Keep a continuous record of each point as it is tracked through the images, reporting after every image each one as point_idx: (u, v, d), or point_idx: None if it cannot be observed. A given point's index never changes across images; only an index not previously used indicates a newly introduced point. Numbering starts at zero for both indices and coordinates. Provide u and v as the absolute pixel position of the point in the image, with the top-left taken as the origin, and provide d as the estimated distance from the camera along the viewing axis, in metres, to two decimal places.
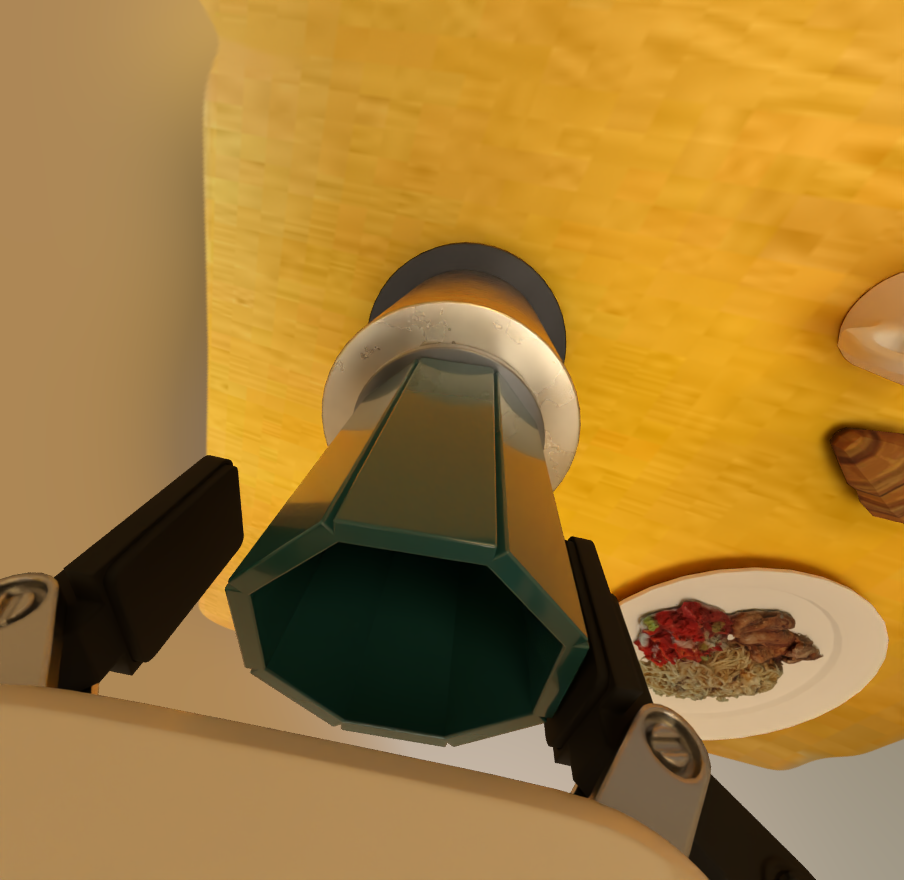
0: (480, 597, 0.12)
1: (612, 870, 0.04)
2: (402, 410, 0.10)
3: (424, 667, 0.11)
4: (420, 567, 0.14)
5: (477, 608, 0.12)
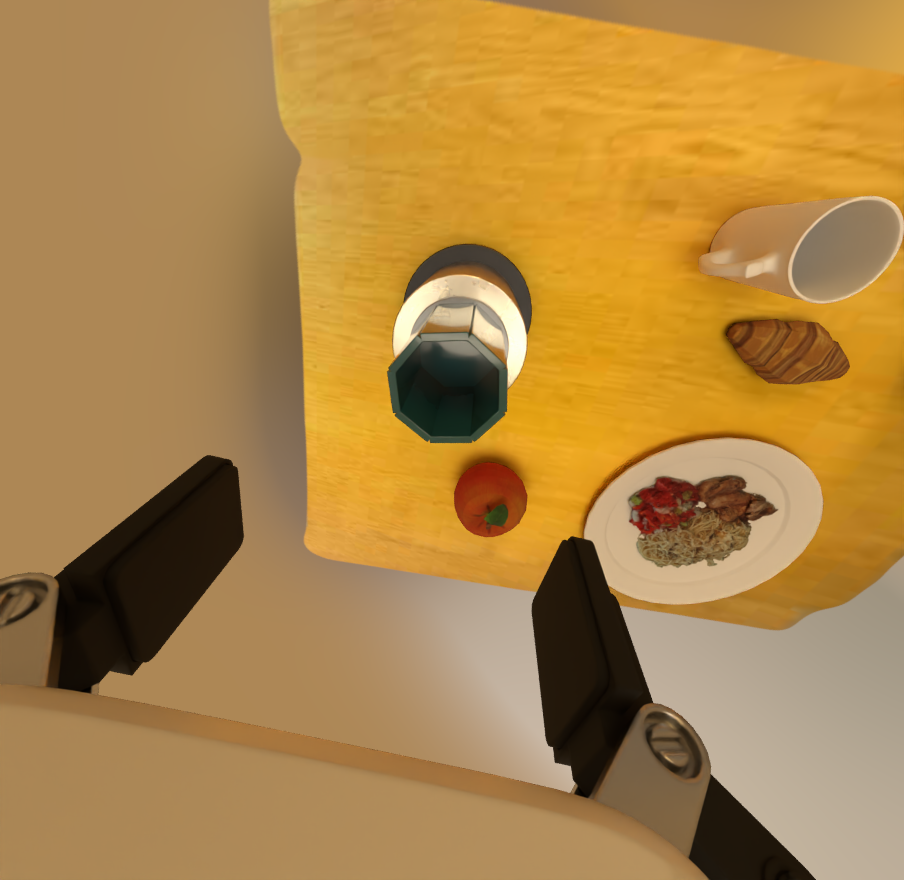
0: (482, 402, 0.26)
1: (612, 869, 0.04)
2: (434, 316, 0.24)
3: (460, 424, 0.25)
4: (454, 403, 0.28)
5: (480, 405, 0.26)
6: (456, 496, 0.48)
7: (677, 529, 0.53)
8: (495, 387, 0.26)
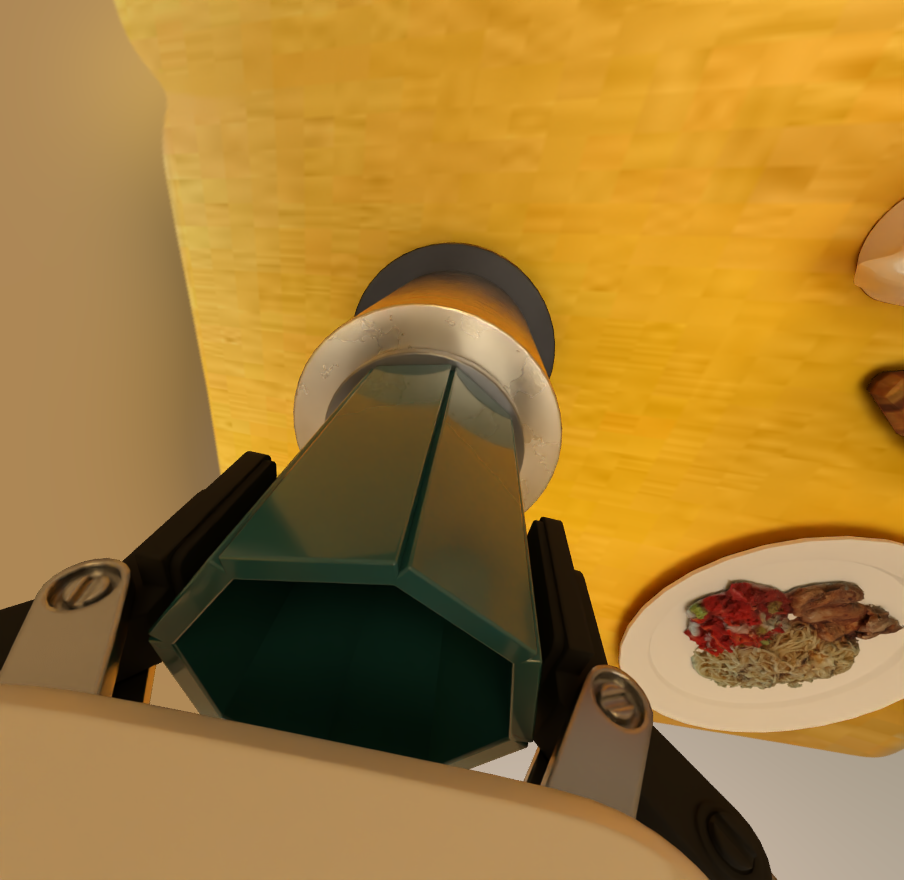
0: None
1: (612, 870, 0.04)
2: (336, 424, 0.09)
3: (407, 693, 0.10)
4: None
5: None
6: None
7: (754, 647, 0.37)
8: None
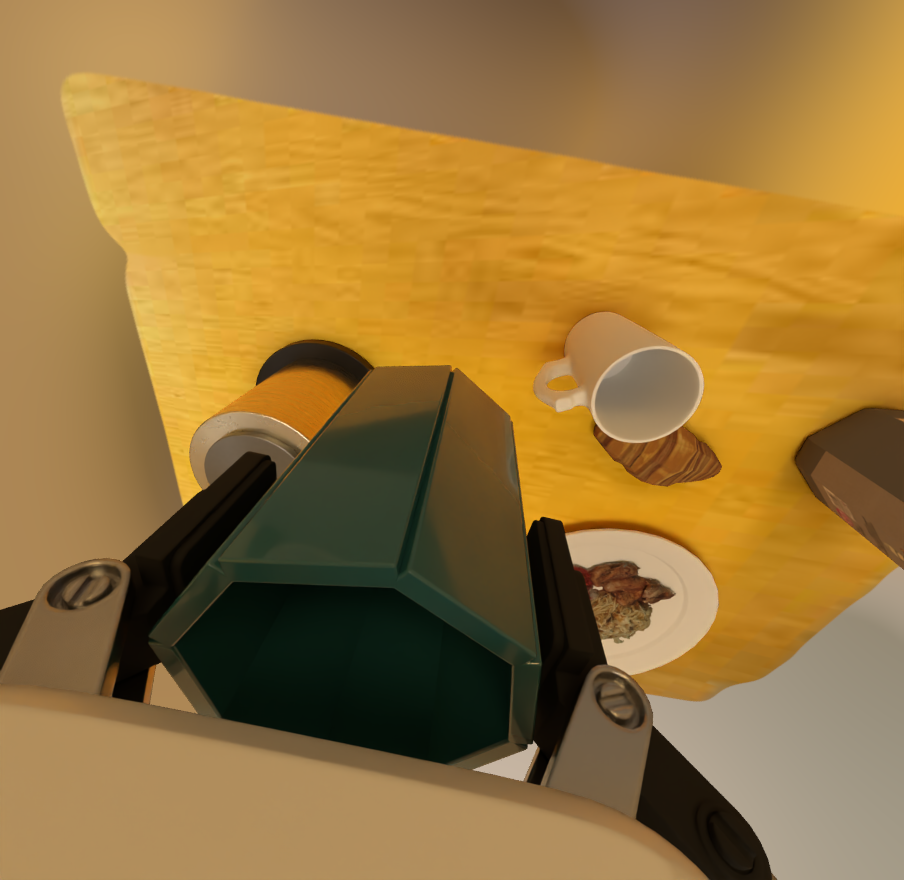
0: None
1: (612, 870, 0.04)
2: (336, 426, 0.09)
3: (407, 695, 0.10)
4: None
5: None
6: None
7: None
8: None
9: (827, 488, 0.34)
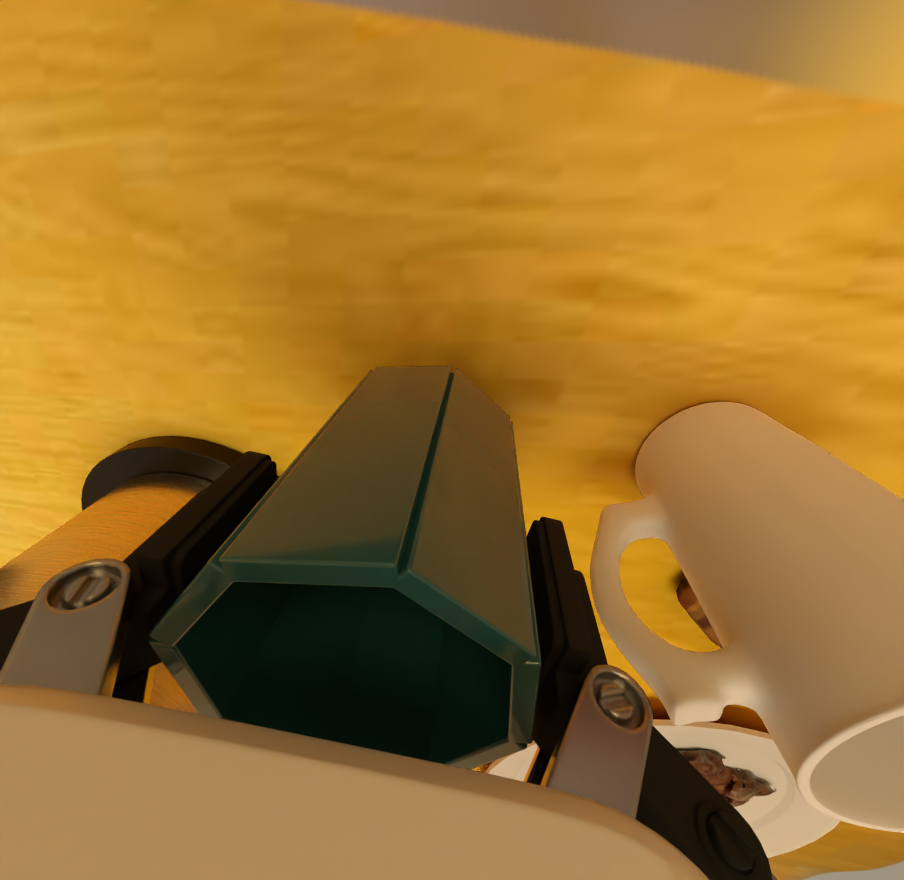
0: None
1: (612, 870, 0.04)
2: (336, 426, 0.09)
3: (407, 695, 0.10)
4: None
5: None
6: None
7: None
8: None
9: None
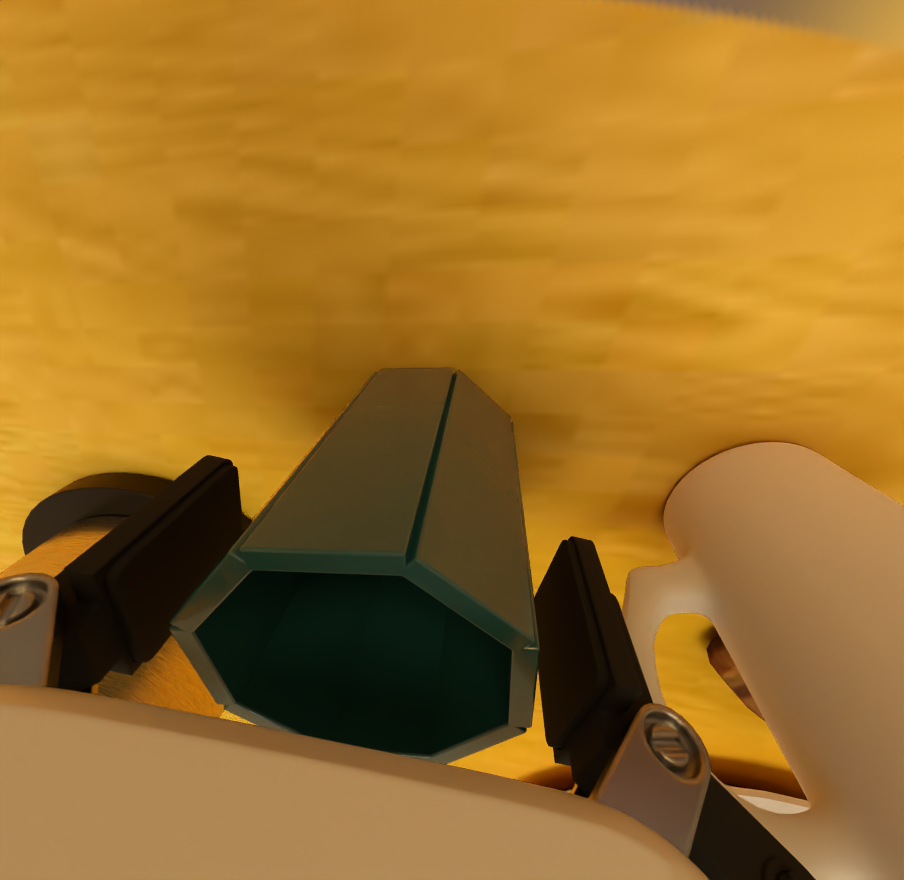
0: None
1: (612, 870, 0.04)
2: (344, 426, 0.10)
3: (411, 684, 0.10)
4: (410, 580, 0.13)
5: None
6: None
7: None
8: None
9: None
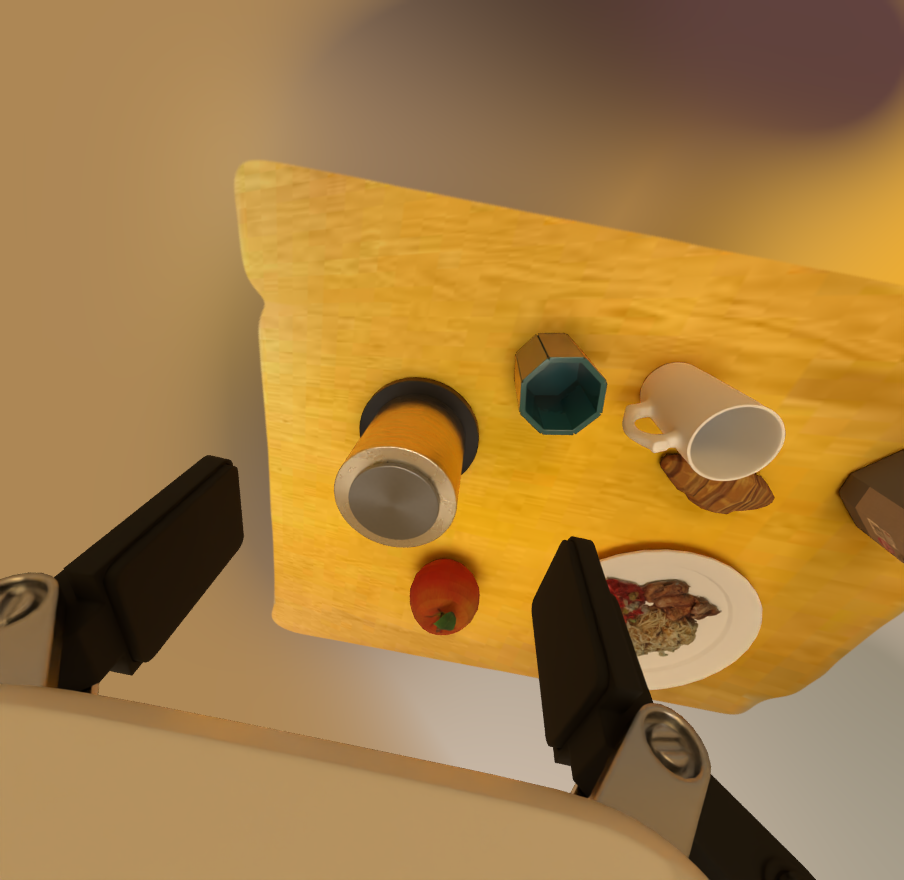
0: (574, 406, 0.36)
1: (612, 870, 0.04)
2: (546, 344, 0.34)
3: (561, 422, 0.35)
4: (548, 407, 0.38)
5: (573, 409, 0.36)
6: (411, 595, 0.50)
7: (626, 624, 0.55)
8: (584, 396, 0.36)
9: (871, 520, 0.39)
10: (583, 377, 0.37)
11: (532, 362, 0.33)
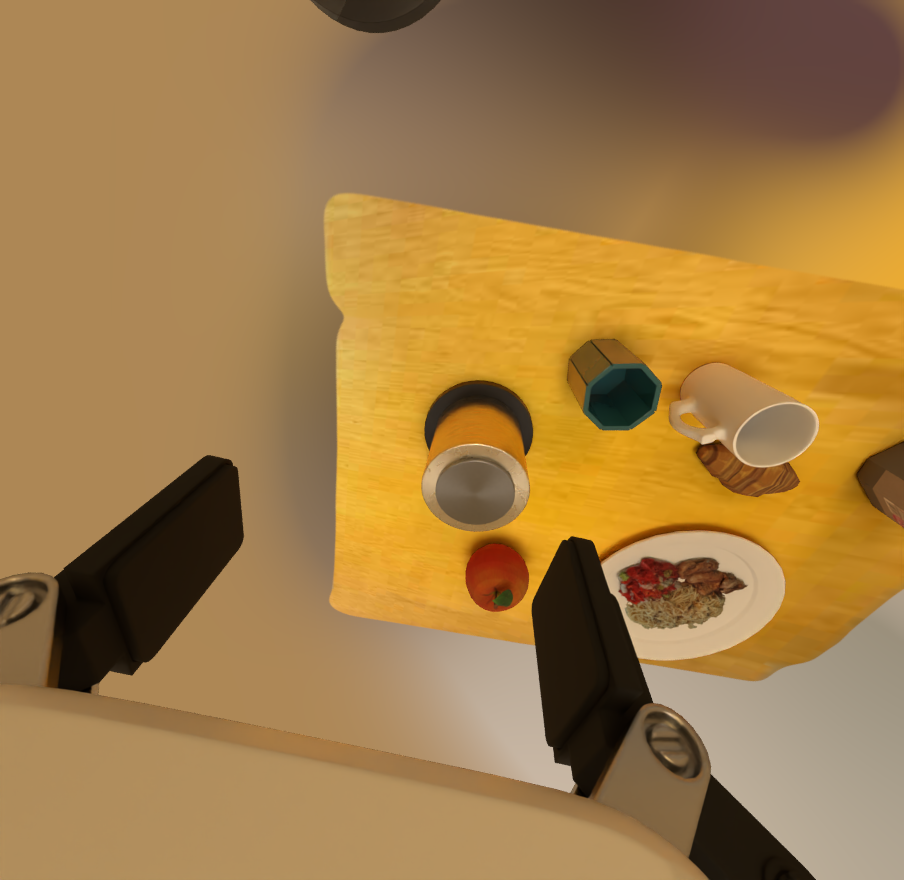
0: (626, 405, 0.41)
1: (612, 870, 0.04)
2: (603, 350, 0.39)
3: (617, 419, 0.39)
4: (601, 405, 0.42)
5: (626, 407, 0.40)
6: (467, 576, 0.55)
7: (660, 600, 0.60)
8: (635, 395, 0.41)
9: (887, 499, 0.44)
10: (633, 378, 0.42)
11: (594, 367, 0.37)
